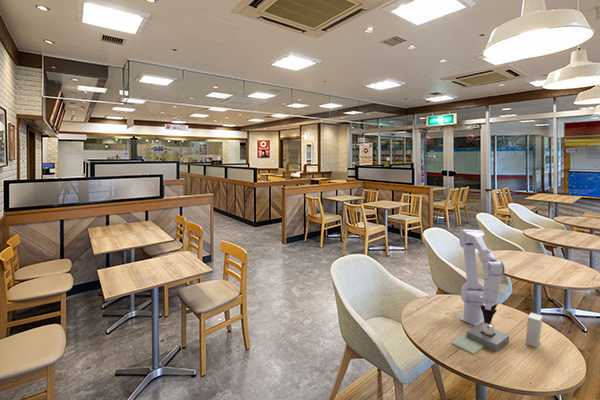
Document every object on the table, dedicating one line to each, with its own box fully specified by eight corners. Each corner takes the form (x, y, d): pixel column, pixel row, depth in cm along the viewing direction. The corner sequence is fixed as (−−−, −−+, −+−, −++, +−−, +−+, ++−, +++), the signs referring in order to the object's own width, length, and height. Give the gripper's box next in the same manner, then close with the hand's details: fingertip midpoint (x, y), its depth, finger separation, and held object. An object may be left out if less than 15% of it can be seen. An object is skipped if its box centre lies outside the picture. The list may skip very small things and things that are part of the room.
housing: (479, 329, 143) (480, 323, 143) (508, 341, 134) (509, 335, 133) (466, 337, 137) (466, 331, 136) (496, 351, 127) (496, 344, 126)
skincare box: (527, 337, 137) (530, 312, 135) (539, 342, 134) (543, 315, 132) (524, 343, 133) (527, 317, 131) (537, 348, 130) (540, 320, 128)
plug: (484, 336, 138) (485, 321, 137) (494, 340, 135) (495, 325, 134) (480, 339, 136) (481, 324, 135) (490, 343, 132) (491, 328, 131)
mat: (462, 336, 137) (462, 335, 137) (483, 346, 130) (484, 345, 130) (451, 343, 132) (451, 342, 132) (473, 354, 125) (473, 353, 125)
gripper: (483, 281, 140) (480, 310, 142) (477, 292, 129) (475, 323, 131) (501, 285, 136) (498, 314, 138) (497, 297, 125) (494, 329, 126)
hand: (488, 319), depth 134 cm, fingers open, 7 cm apart
